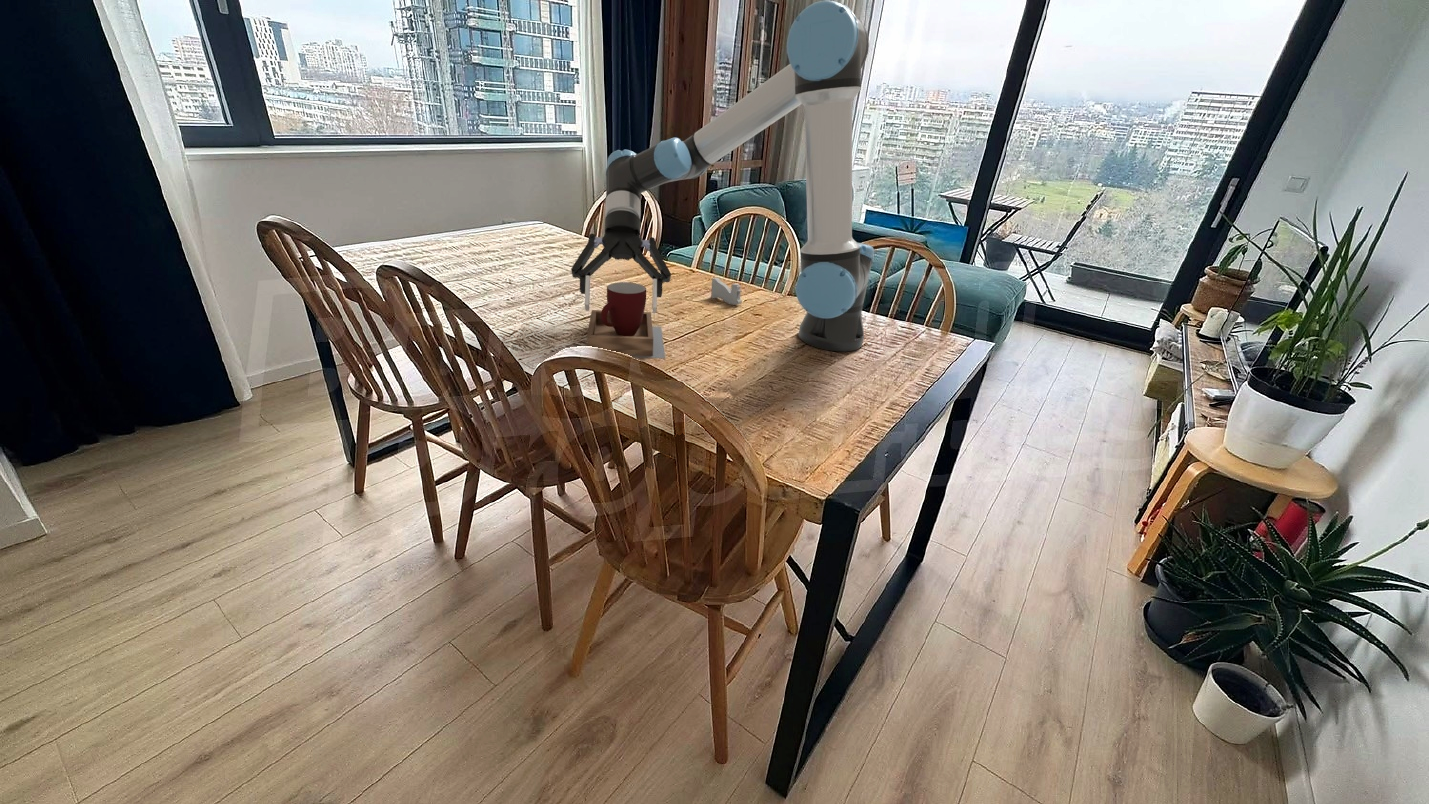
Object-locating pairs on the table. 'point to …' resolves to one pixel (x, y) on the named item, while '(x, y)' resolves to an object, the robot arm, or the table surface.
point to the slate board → (655, 344)
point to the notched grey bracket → (726, 292)
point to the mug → (624, 307)
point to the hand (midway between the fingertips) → (621, 309)
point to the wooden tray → (612, 341)
